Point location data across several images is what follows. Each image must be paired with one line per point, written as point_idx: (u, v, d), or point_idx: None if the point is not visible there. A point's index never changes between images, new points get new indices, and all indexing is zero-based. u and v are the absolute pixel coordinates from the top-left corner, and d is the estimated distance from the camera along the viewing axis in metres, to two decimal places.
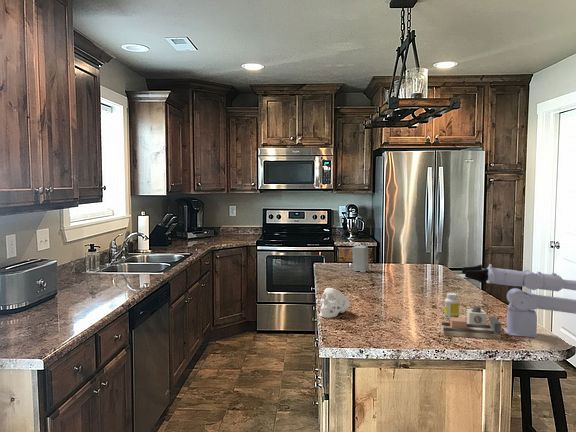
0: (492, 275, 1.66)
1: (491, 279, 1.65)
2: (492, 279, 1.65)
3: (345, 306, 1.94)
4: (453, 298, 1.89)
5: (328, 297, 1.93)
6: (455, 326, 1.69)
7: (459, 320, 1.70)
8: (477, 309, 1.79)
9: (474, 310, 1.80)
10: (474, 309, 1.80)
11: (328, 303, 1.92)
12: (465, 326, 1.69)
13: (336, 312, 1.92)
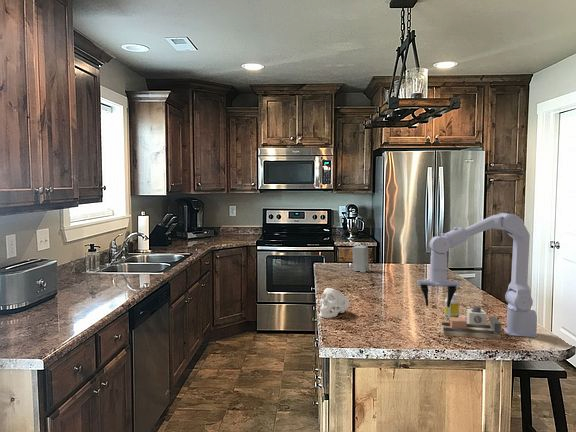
0: (456, 284, 1.70)
1: (458, 284, 1.71)
2: (458, 283, 1.71)
3: (345, 306, 1.94)
4: (453, 298, 1.89)
5: (328, 297, 1.93)
6: (455, 326, 1.69)
7: (459, 320, 1.70)
8: (477, 309, 1.79)
9: (474, 310, 1.80)
10: (474, 309, 1.80)
11: (328, 303, 1.91)
12: (465, 326, 1.69)
13: (336, 312, 1.92)
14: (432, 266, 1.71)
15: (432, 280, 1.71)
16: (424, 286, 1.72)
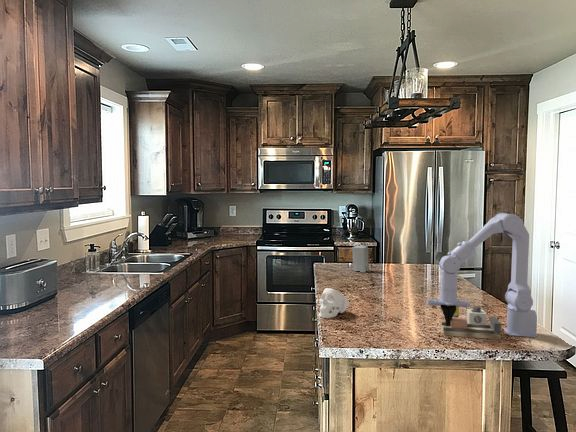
0: (467, 304, 1.70)
1: None
2: None
3: (344, 306, 1.94)
4: None
5: (327, 297, 1.93)
6: (456, 326, 1.69)
7: (460, 320, 1.70)
8: (477, 309, 1.79)
9: (474, 310, 1.80)
10: (474, 309, 1.80)
11: (327, 303, 1.91)
12: (466, 326, 1.69)
13: (335, 312, 1.92)
14: (442, 286, 1.70)
15: (442, 300, 1.71)
16: None
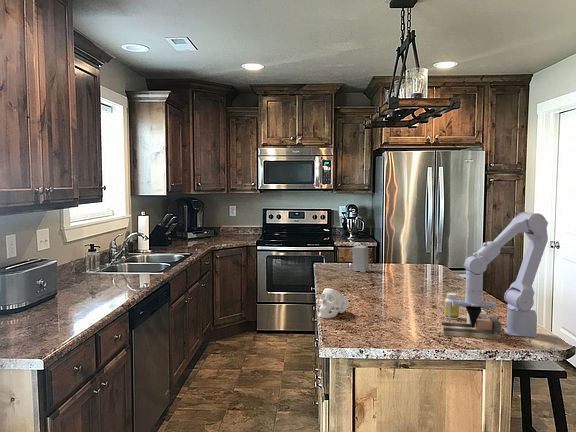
0: (493, 305, 1.68)
1: None
2: None
3: (344, 306, 1.94)
4: (453, 298, 1.89)
5: (327, 297, 1.92)
6: (480, 328, 1.68)
7: (484, 322, 1.68)
8: None
9: None
10: None
11: (327, 303, 1.91)
12: (491, 328, 1.67)
13: (335, 312, 1.91)
14: (468, 287, 1.68)
15: (468, 301, 1.69)
16: None
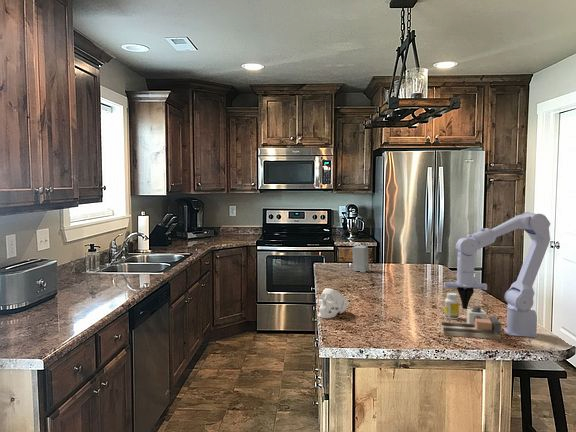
0: (484, 286, 1.68)
1: None
2: None
3: (344, 306, 1.93)
4: (453, 298, 1.89)
5: (326, 297, 1.92)
6: (480, 328, 1.68)
7: (484, 322, 1.68)
8: (477, 309, 1.79)
9: (474, 310, 1.80)
10: (474, 309, 1.80)
11: (326, 303, 1.91)
12: (490, 328, 1.67)
13: (334, 313, 1.91)
14: (460, 268, 1.68)
15: (459, 282, 1.69)
16: None
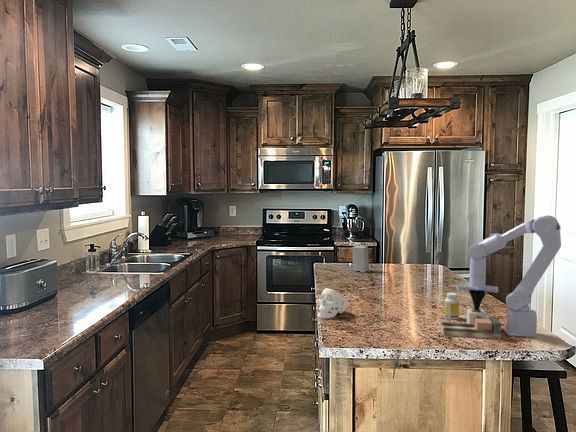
0: (495, 289, 1.77)
1: None
2: None
3: (343, 307, 1.93)
4: (453, 298, 1.89)
5: (326, 298, 1.92)
6: (480, 328, 1.68)
7: (484, 322, 1.68)
8: (477, 311, 1.79)
9: None
10: (474, 311, 1.80)
11: (326, 304, 1.91)
12: (490, 328, 1.67)
13: (334, 313, 1.91)
14: None
15: (472, 285, 1.78)
16: None
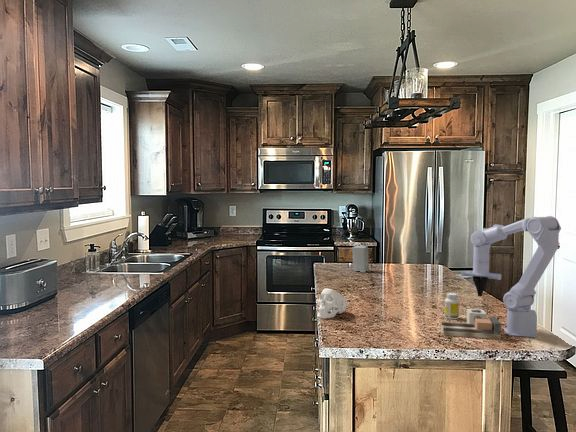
0: (498, 276, 1.80)
1: None
2: None
3: (343, 307, 1.93)
4: (453, 298, 1.89)
5: (326, 298, 1.92)
6: (480, 328, 1.68)
7: (484, 322, 1.68)
8: (477, 312, 1.79)
9: None
10: None
11: (326, 304, 1.91)
12: (490, 328, 1.67)
13: (334, 313, 1.91)
14: None
15: (474, 271, 1.83)
16: None
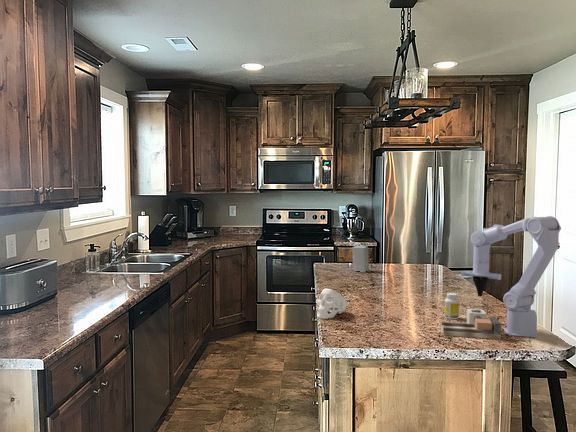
0: (498, 276, 1.80)
1: None
2: None
3: (343, 307, 1.93)
4: (453, 298, 1.89)
5: (325, 298, 1.92)
6: (480, 328, 1.68)
7: (484, 322, 1.68)
8: (477, 312, 1.79)
9: None
10: None
11: (325, 304, 1.90)
12: (490, 328, 1.67)
13: (333, 313, 1.91)
14: None
15: (474, 271, 1.83)
16: None
